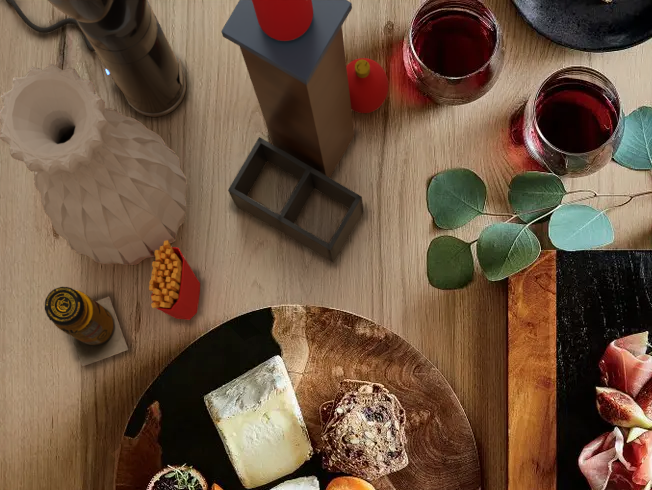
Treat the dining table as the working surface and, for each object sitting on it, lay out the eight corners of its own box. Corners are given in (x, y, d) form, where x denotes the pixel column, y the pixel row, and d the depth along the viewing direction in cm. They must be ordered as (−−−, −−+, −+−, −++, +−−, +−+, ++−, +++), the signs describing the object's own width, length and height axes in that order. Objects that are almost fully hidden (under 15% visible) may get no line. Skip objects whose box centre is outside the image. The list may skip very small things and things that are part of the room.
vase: (53, 263, 122) (-59, 181, 92) (85, 133, 122) (-16, 9, 92) (183, 295, 122) (113, 223, 92) (215, 164, 122) (156, 49, 92)
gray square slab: (222, 36, 92) (220, 31, 91) (267, -41, 92) (266, -47, 91) (307, 85, 92) (306, 80, 91) (352, 8, 92) (351, 2, 91)
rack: (236, 206, 122) (227, 190, 116) (266, 155, 122) (259, 136, 116) (333, 263, 122) (330, 250, 116) (363, 212, 122) (362, 196, 116)
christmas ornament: (355, 131, 122) (351, 96, 112) (332, 89, 122) (326, 51, 112) (397, 107, 122) (397, 71, 112) (374, 66, 122) (371, 25, 112)
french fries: (174, 266, 122) (148, 236, 109) (203, 269, 122) (180, 240, 109) (167, 327, 122) (140, 305, 109) (196, 330, 122) (172, 308, 109)
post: (275, 151, 122) (234, 33, 92) (302, 105, 122) (271, -29, 92) (327, 182, 122) (303, 73, 92) (354, 135, 122) (340, 11, 92)
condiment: (109, 296, 122) (78, 272, 110) (128, 350, 122) (99, 331, 110) (63, 313, 122) (27, 291, 110) (83, 366, 122) (48, 350, 110)
